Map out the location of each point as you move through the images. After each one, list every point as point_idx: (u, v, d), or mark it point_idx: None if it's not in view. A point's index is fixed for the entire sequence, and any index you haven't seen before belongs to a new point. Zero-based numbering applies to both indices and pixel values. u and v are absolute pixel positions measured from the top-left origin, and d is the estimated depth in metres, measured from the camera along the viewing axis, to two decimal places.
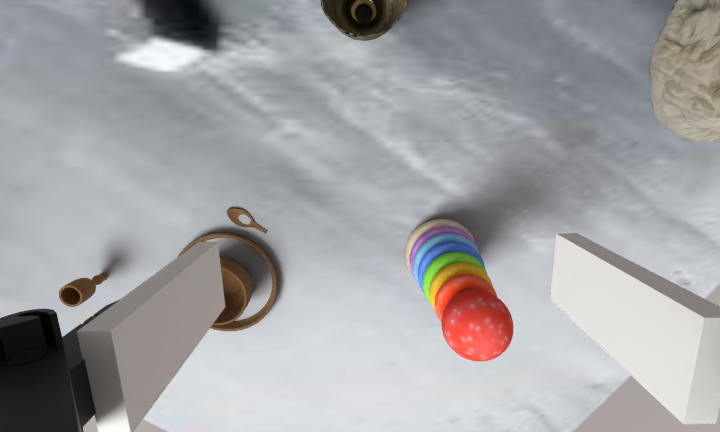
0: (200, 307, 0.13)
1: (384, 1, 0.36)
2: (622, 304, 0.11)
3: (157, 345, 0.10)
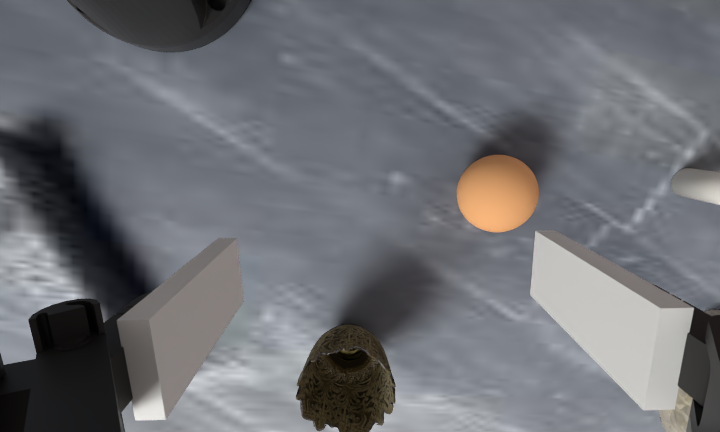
0: (222, 301, 0.14)
1: None
2: (592, 297, 0.11)
3: (187, 335, 0.11)
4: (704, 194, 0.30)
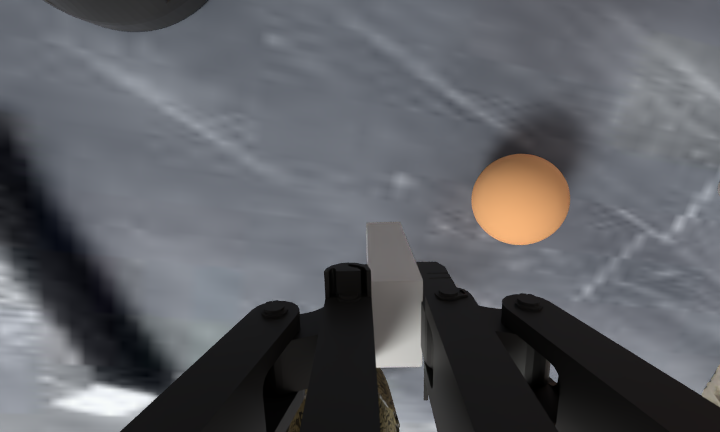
0: None
1: None
2: None
3: None
4: None
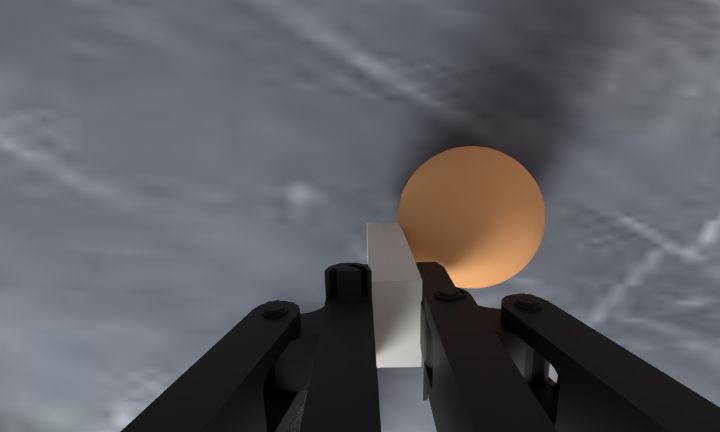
0: None
1: None
2: None
3: None
4: None
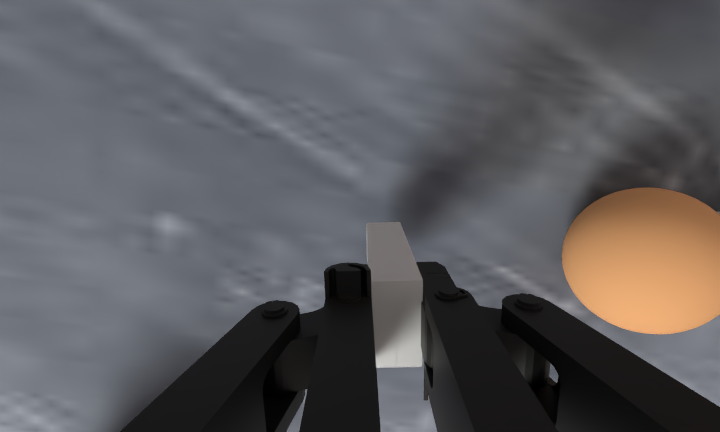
0: None
1: None
2: None
3: None
4: None
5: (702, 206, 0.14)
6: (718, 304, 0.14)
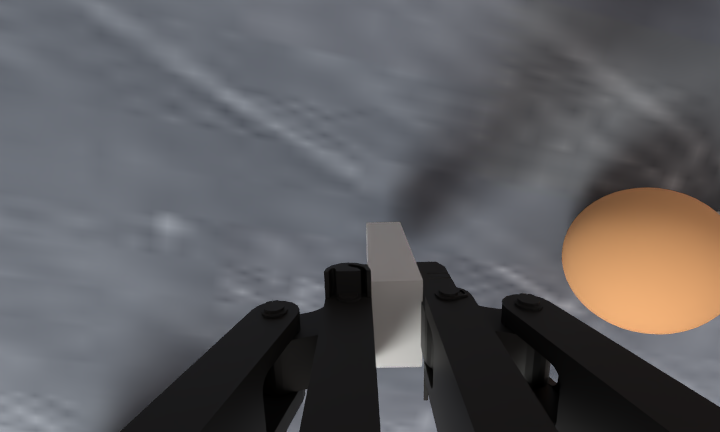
0: None
1: None
2: None
3: None
4: None
5: (702, 206, 0.14)
6: (718, 304, 0.14)
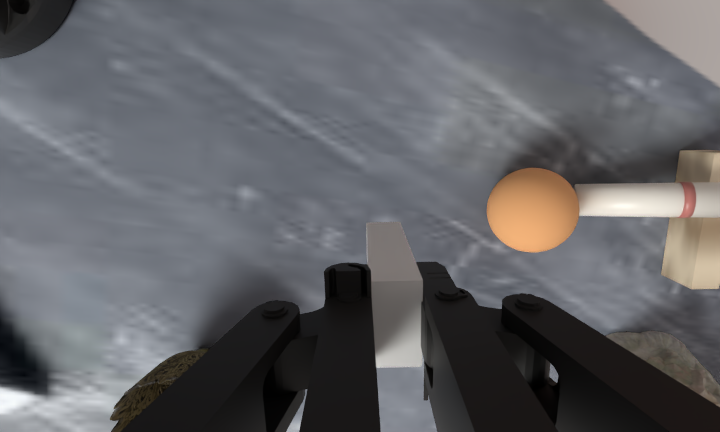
0: None
1: None
2: None
3: None
4: (630, 207, 0.27)
5: (555, 176, 0.26)
6: (560, 229, 0.25)
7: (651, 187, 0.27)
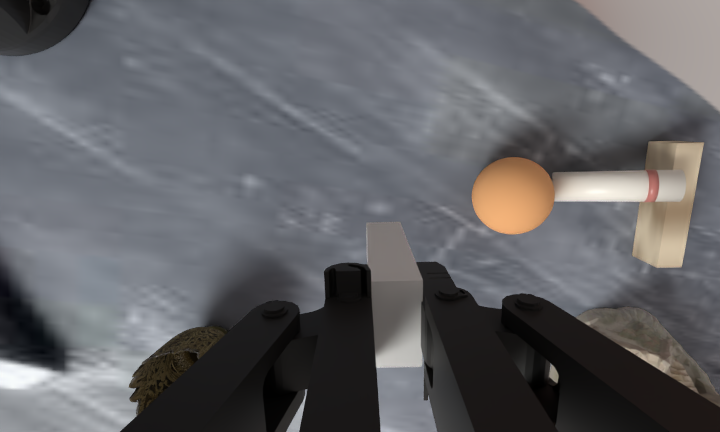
0: None
1: None
2: None
3: None
4: (600, 193, 0.30)
5: (533, 164, 0.28)
6: (536, 212, 0.28)
7: (620, 174, 0.30)
